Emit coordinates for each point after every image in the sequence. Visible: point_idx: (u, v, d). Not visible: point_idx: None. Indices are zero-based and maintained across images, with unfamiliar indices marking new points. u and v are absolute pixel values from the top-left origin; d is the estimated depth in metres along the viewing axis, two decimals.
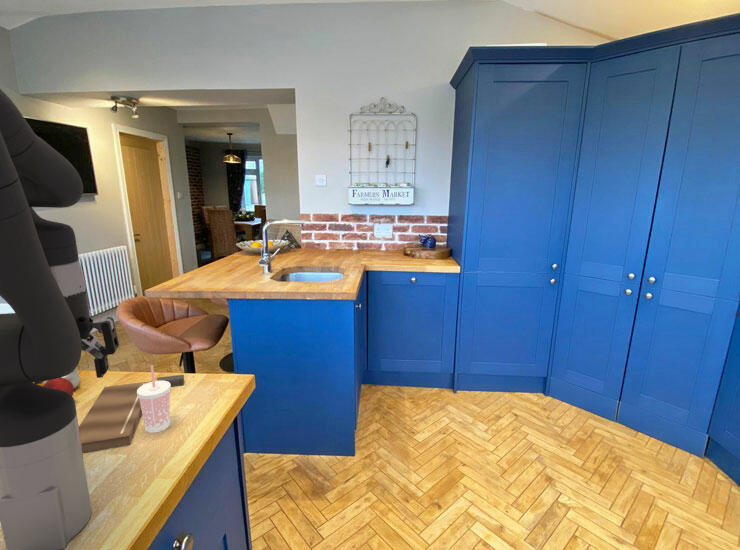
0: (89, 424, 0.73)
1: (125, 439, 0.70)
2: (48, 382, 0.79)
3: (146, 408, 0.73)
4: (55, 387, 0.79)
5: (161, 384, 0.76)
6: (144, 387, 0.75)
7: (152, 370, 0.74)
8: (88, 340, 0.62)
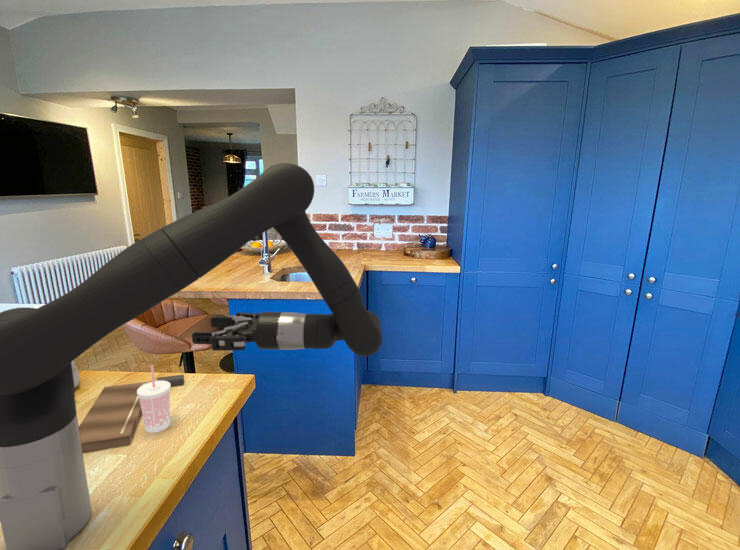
0: (89, 424, 0.73)
1: (125, 439, 0.70)
2: None
3: (146, 408, 0.73)
4: None
5: (161, 384, 0.76)
6: (144, 387, 0.75)
7: (152, 370, 0.74)
8: None
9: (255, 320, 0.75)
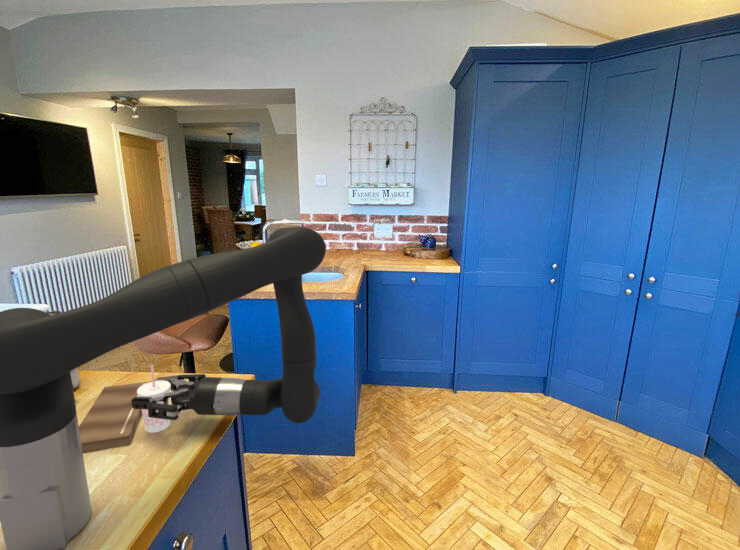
0: (89, 424, 0.73)
1: (125, 439, 0.70)
2: None
3: None
4: None
5: (161, 384, 0.76)
6: (144, 387, 0.75)
7: (152, 370, 0.74)
8: (169, 405, 0.73)
9: None
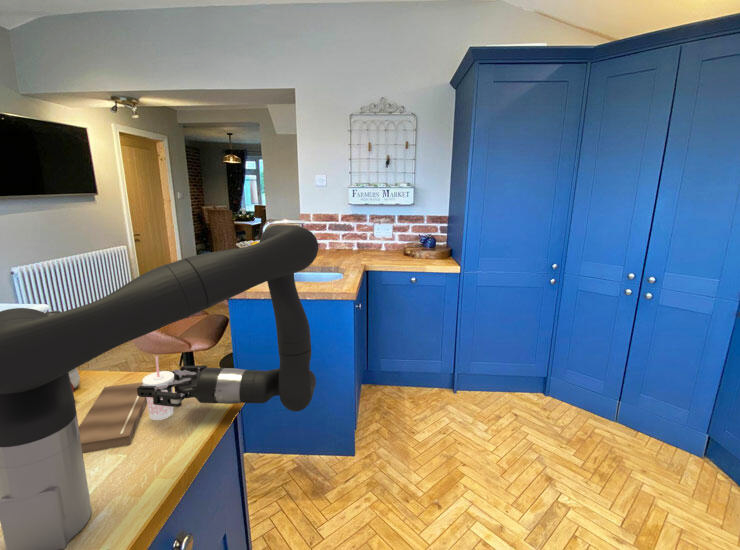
0: (89, 424, 0.73)
1: (125, 439, 0.70)
2: None
3: None
4: None
5: (165, 374, 0.80)
6: (149, 377, 0.79)
7: (157, 360, 0.78)
8: None
9: None
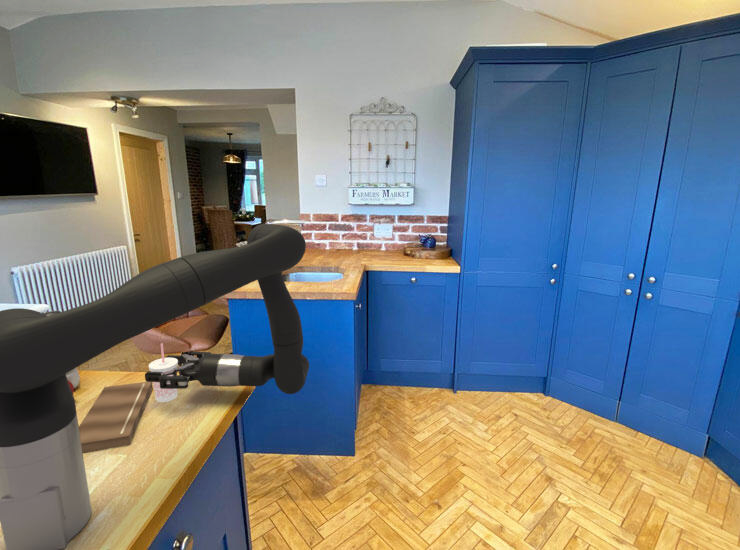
0: (89, 424, 0.73)
1: (125, 439, 0.70)
2: None
3: None
4: None
5: (170, 360, 0.87)
6: (154, 363, 0.85)
7: (162, 347, 0.84)
8: None
9: None
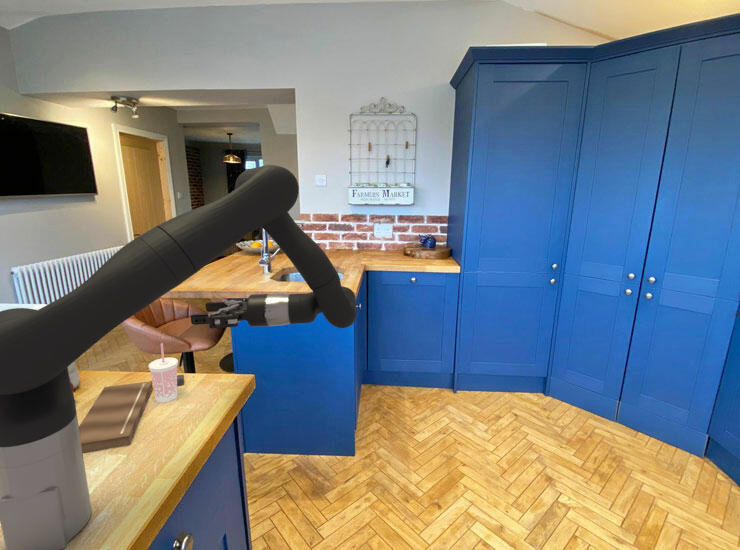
0: (89, 424, 0.73)
1: (125, 439, 0.70)
2: None
3: (156, 380, 0.84)
4: None
5: (170, 360, 0.87)
6: (154, 363, 0.85)
7: (162, 347, 0.84)
8: None
9: (245, 303, 0.85)
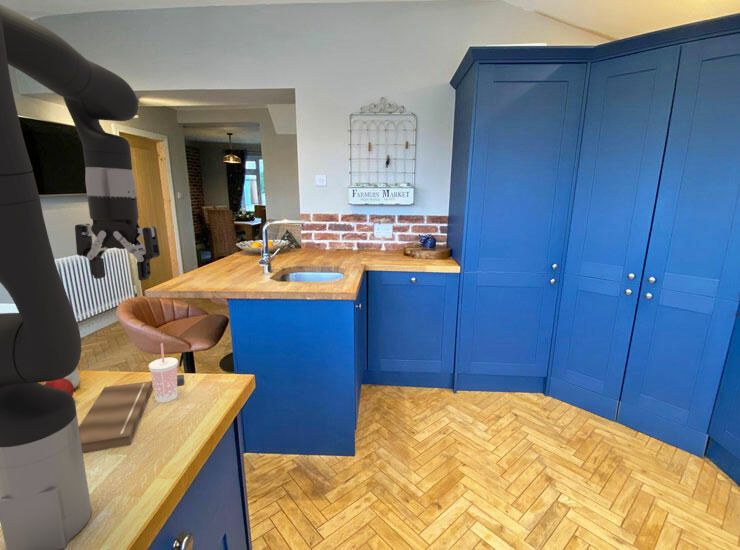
0: (89, 424, 0.73)
1: (125, 439, 0.70)
2: (48, 382, 0.79)
3: (156, 380, 0.84)
4: (55, 387, 0.79)
5: (170, 360, 0.87)
6: (154, 363, 0.85)
7: (162, 347, 0.84)
8: None
9: (97, 228, 0.67)
